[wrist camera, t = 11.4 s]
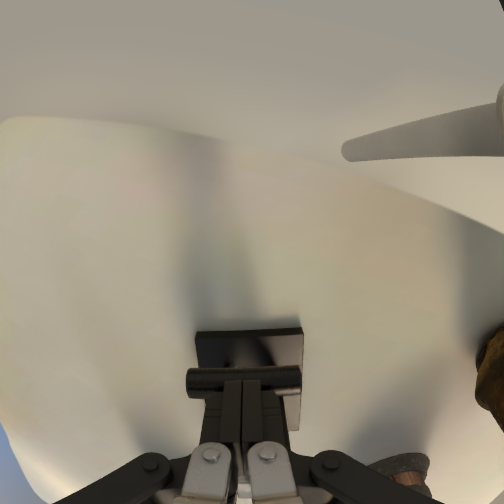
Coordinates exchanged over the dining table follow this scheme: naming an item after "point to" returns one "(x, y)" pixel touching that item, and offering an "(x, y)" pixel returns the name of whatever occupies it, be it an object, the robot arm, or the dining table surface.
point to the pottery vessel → (492, 377)
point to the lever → (271, 378)
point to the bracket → (256, 358)
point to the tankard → (406, 470)
